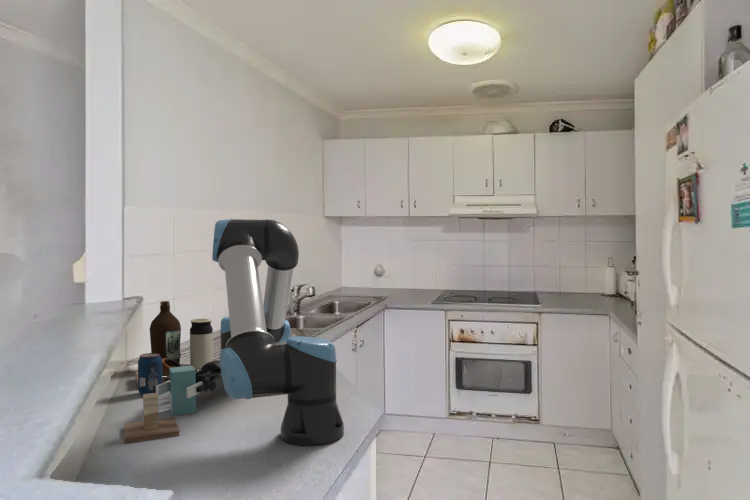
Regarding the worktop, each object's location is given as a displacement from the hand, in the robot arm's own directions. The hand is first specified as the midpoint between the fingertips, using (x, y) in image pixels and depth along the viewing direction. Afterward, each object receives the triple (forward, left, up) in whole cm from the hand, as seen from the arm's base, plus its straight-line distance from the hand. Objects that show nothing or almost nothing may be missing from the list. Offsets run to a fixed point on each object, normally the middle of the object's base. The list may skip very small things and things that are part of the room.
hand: (172, 391), depth 149 cm
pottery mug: (+42, -1, -7) cm, 42 cm away
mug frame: (+41, -1, -7) cm, 41 cm away
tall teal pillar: (+4, -3, -7) cm, 8 cm away
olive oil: (+58, -3, -7) cm, 58 cm away
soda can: (+27, +4, -7) cm, 28 cm away
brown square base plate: (-10, +6, -7) cm, 14 cm away
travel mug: (+54, -15, -7) cm, 56 cm away
